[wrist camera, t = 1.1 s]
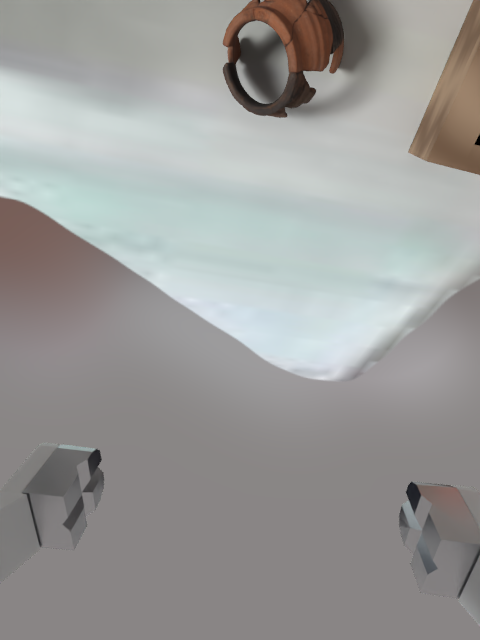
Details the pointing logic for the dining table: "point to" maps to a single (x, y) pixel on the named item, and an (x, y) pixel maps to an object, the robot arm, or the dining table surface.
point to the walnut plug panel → (455, 105)
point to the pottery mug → (288, 48)
